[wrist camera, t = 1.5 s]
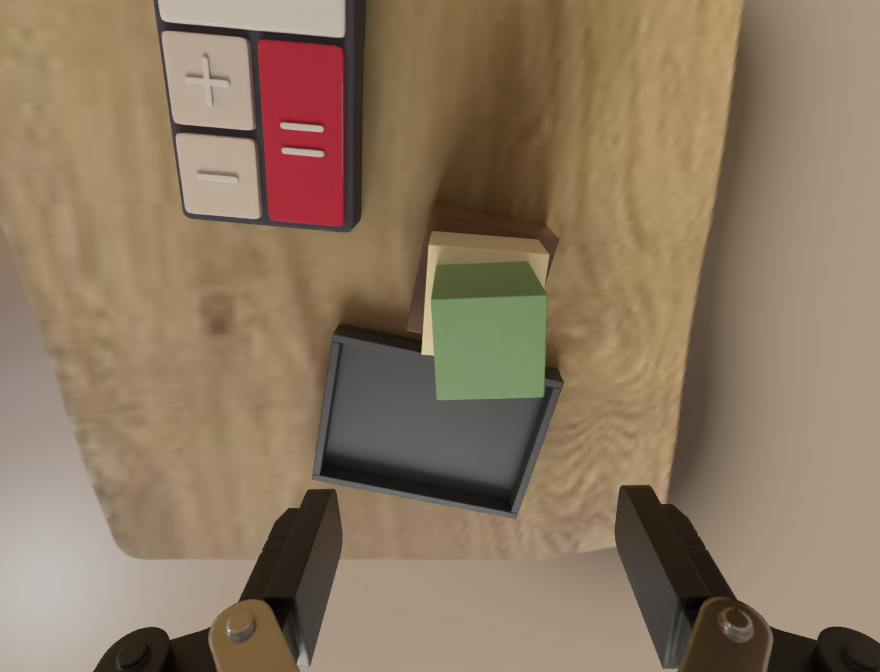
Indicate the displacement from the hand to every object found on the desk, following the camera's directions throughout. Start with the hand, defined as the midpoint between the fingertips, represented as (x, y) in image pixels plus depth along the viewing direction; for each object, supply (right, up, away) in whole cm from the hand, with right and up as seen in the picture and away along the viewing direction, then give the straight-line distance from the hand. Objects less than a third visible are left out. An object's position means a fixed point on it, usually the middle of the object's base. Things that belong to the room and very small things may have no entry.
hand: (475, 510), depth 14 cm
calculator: (-11, +20, +18) cm, 29 cm away
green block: (+1, +7, +14) cm, 15 cm away
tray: (-2, -2, +26) cm, 26 cm away
